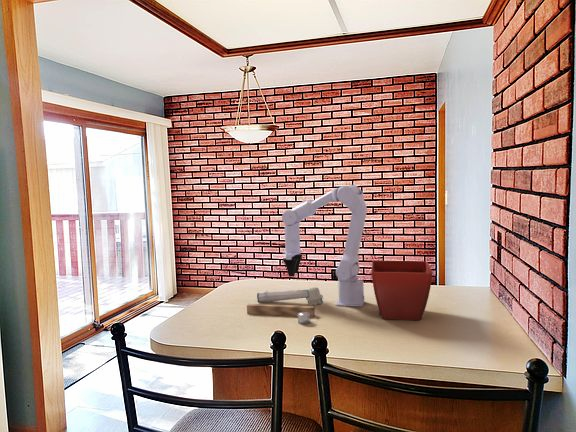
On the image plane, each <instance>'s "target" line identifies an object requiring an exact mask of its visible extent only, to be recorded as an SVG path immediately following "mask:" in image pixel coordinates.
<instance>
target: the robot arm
mask: <svg viewBox="0 0 576 432" xmlns="http://www.w3.org/2000/svg"><path fill="white" fill-rule="evenodd" d="M332 202H340V203H341V204H343V205H344V206H345V207H347V209H348V210H349V211H350V213H351V215H350V222H349V225H348V226H349V227H348V231H347V235H346V236H347V237H346V242H345V247H344V251H343V255H342V256H341V259H340V261H339V264H338V266H337V267H336V269H335V275H336V277H337V278H338V279H337V280H338V282H337V283H338V300H337V303H336V306H342V307H344V306H345V307H363V306H364V303H365V293H364V292H365V291H364V289H365V288H364V280H362V279H358V275H359V273H360V265H359V264H360V263H359V261H360V258H359V252H360V247H361V243H362V237H363V233H364V227H365V223H366V217H367V212H368V208H367V205H366V201H365V198H364V193H363V191H362V190H361V189H360V188H359V186H357V185H355V184H350V185H342V186H340V187H336V188H334V189H332V190H330V191H328V192H326V193H324V194H323V195H321V196H320V197H318V198H316V199H314V200H313V201H312V200H306V199H305V200H303V201H301V203H300V204H298V205H296V206H295V205H294V206H292V207H291V208H292V209H287V210H285V211H283V213H282V215H281V219H282V220H281V221H282V222H283V224H284V242H285V243H284V244H285V245H284V246H285V250H283V251H282V254H285V257H284V258H282V261H283V263H284V266H285V268H286V270H287V275H288V277H292V278H294V277H295V274H298V273H299V270H300V263H301V260H302V257H303V254H301V253H302V251H301V243H300V242H301V241H300V240H301V239H300V223H301V221H303V220H305V219H307V218H310V217H311V216H314V215H315V214H316V211H317V209H319V208H321V207H323V206H326V205H328V204H330V203H332Z"/></svg>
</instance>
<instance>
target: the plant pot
mask: <svg viewBox="0 0 576 432" xmlns="http://www.w3.org/2000/svg"><path fill="white" fill-rule="evenodd" d="M370 273H371V274H370V275H371V281H372V285H373V286H372V287H373V293H374V297H375V300H376V301H375V302H376V304H377V308H378V311H379V315H380V317H381V319H383V320H400V321H403V320H404V321H421V320H422V319H423V316H424V313H425V310H426V307H427V305H428V300H429V297H430V292H431V287H432V281H433V280H432V279H433V273H434V272H433V271H432V269H431V267H430V265H429V263H428V261H426V260H425V261H424V260H372V261H371V271H370Z"/></svg>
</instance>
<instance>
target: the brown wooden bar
mask: <svg viewBox="0 0 576 432" xmlns="http://www.w3.org/2000/svg"><path fill="white" fill-rule="evenodd" d="M315 306H316V305H293V304H292V305H291V304H290V305H288V304H265V303H264V304H263V303H248V304H246V314H247V315H248V314H249V315H268V316H269V315H270V316H271V315H272V316H273V315H274V316H293V317H298V313H300V312H308V313H310V317H315V314H316V313H315V309H316V307H315Z"/></svg>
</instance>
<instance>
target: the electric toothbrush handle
mask: <svg viewBox="0 0 576 432" xmlns="http://www.w3.org/2000/svg"><path fill="white" fill-rule="evenodd" d="M323 295H324V294H321V291H320V289H319V287H311V288H310V287H309V288H308V289H294V290H293V289H292V290H273V291H272V290H271V291H268V290H266V291H262V292H261V291H260V292H257V294H256V299H257V302H258V303H271V302H280V301H289V300H298V299H305V300H306V301H307V304H308V306H316V305H317V304H319V305H320V304H321V305H322V304H323V302H324V300H323V298H324V296H323Z"/></svg>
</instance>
